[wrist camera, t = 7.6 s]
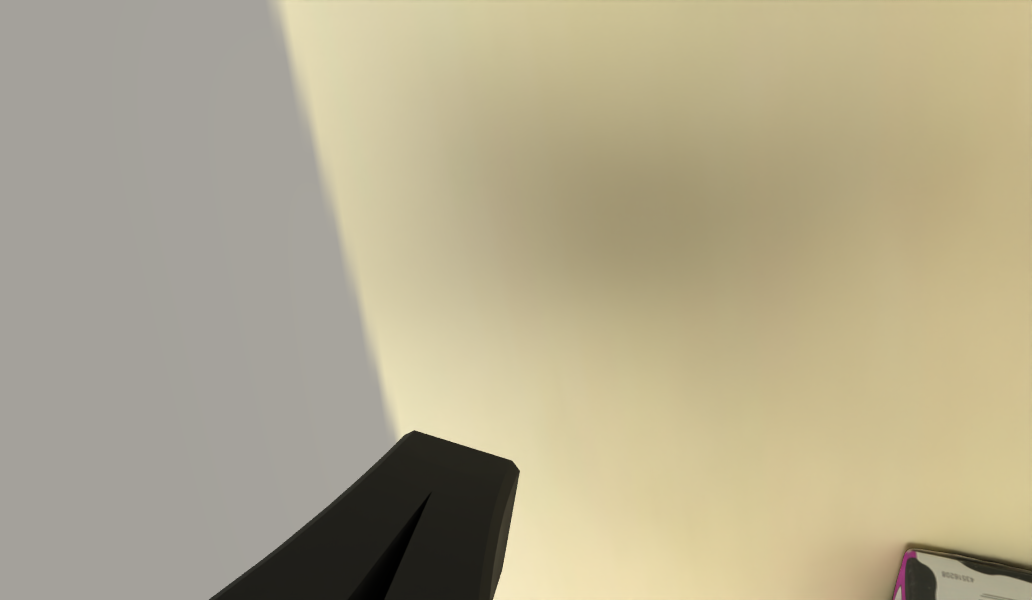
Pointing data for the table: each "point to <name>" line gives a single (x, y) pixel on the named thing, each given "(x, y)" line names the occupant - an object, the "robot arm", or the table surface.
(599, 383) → the table surface
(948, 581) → the candy bar box
